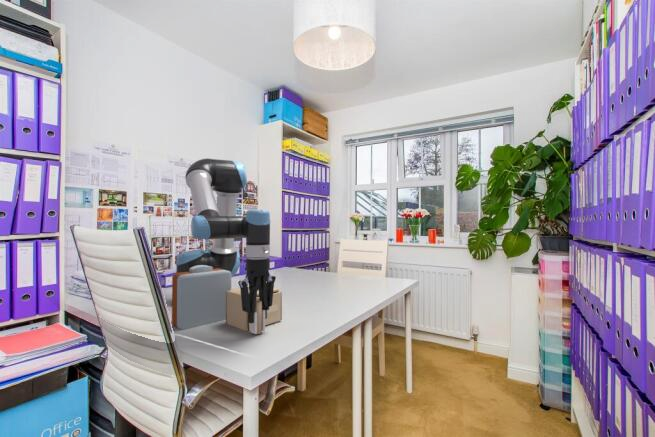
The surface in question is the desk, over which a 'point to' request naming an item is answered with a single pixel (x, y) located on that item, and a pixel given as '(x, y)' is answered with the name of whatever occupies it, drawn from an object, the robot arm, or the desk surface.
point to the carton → (237, 309)
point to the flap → (269, 311)
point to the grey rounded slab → (199, 296)
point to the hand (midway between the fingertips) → (257, 331)
